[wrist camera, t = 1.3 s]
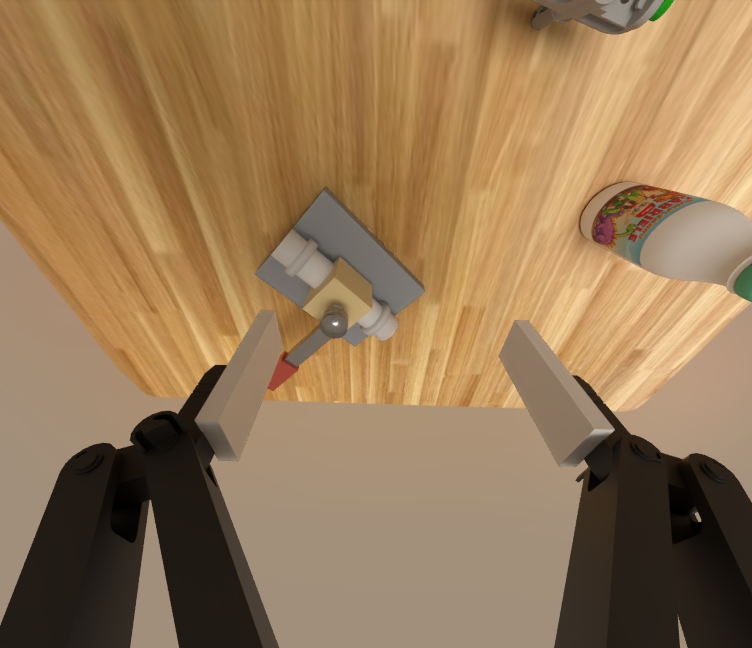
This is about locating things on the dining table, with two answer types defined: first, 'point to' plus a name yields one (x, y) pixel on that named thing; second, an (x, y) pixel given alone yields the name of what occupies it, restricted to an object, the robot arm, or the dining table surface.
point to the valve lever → (310, 345)
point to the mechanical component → (601, 13)
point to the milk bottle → (673, 234)
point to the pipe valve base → (341, 271)
